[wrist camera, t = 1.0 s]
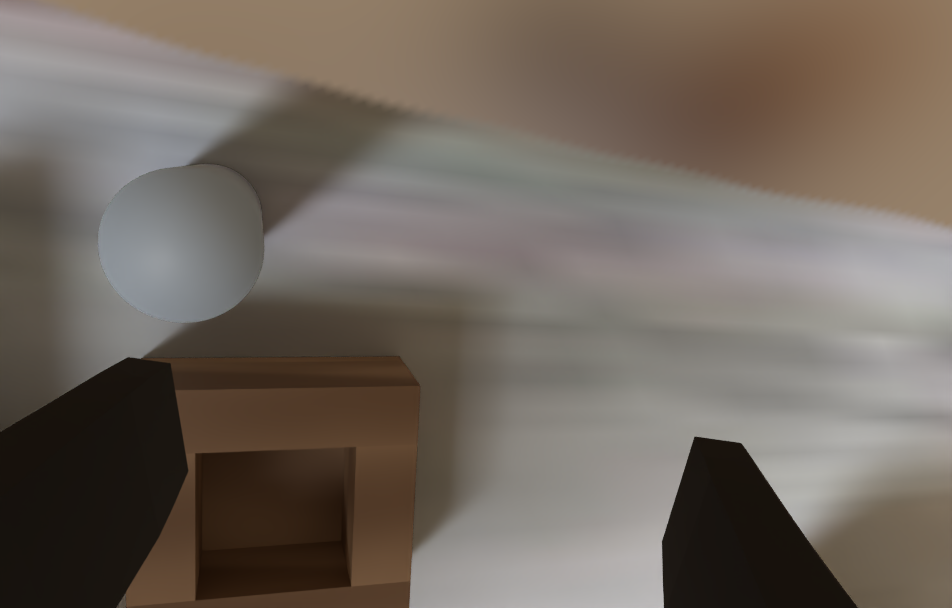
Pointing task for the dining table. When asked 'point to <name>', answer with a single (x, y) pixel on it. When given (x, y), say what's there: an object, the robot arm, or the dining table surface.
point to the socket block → (289, 486)
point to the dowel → (183, 242)
